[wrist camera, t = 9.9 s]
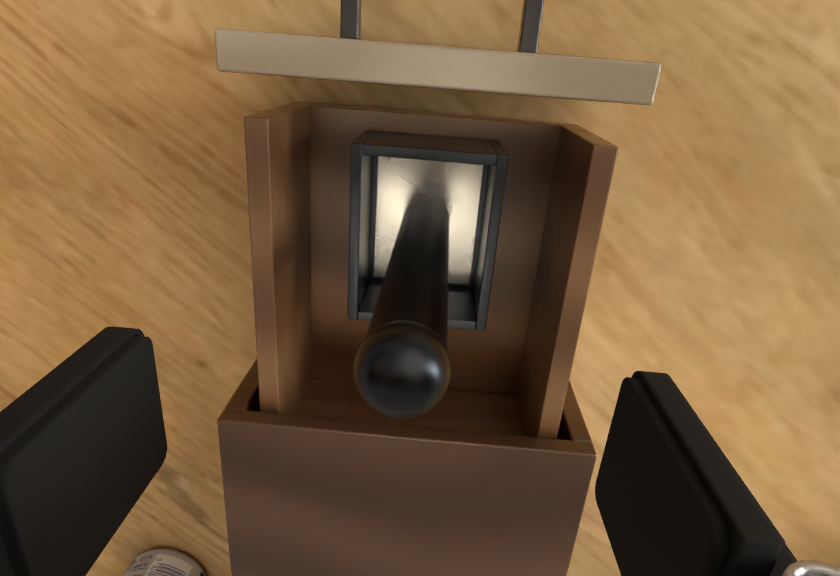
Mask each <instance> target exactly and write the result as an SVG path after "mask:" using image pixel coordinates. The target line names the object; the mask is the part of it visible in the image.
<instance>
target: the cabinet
mask: <svg viewBox="0 0 840 576" xmlns="http://www.w3.org/2000/svg"><path fill="white" fill-rule="evenodd" d="M217 422H218V432H219V443H220V454H221V465H222V475H223V486H224V497H225V508H226V519H227V529H228V540H229V551H230V562H231V572H232V576H566V575H567V571H568V567H569V563H570V560H571V556H572V552H573V548H574V544H575V540H576V536H577V532H578V528H579V524H580V520H581V516H582V512H583V508H584V504H585V500H586V496H587V492H588V488H589V484H590V480H591V476H592V472H593V468H594V464H595V460H596V457H597V455H596V452H595V449H594V447H593V444H592V441H591V438H590V436H589V433H588V430H587V427H586V425H585V422H584V419H583V416H582V414H581V411H580V408H579V405H578V403H577V400H576V397H575V395H574V392H573V389H572V386H571V384H570V381H569V382H568V387H567V392H566V396H565V401H564V406H563V411H562V415H561V420H560V425H559V429H558V434H557V439H549V438H538V437H527V436H516V435H506V434H495V433H484V432H473V431H462V430H452V429H441V428H430V427H419V426H409V425H398V424H387V423H376V422H365V421H355V420H344V419H333V418H322V417H312V416H301V415H290V414H279V413H268V412H260V400H259V382H258V364H257V359H256V361H255V362H254V364H253V365H252V367H251V368H250V370H249V372H248V373H247V375H246V376H245V378H244V379H243V381H242V382H241V384H240V385H239V387H238V388H237V390H236V392H235V393H234V395H233V396H232V398H231V399H230V401H229V402H228V404H227V405H226V407H225V409H224V411H223V412H222V414H221V415H220V417H219V418H218V420H217Z"/></svg>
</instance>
